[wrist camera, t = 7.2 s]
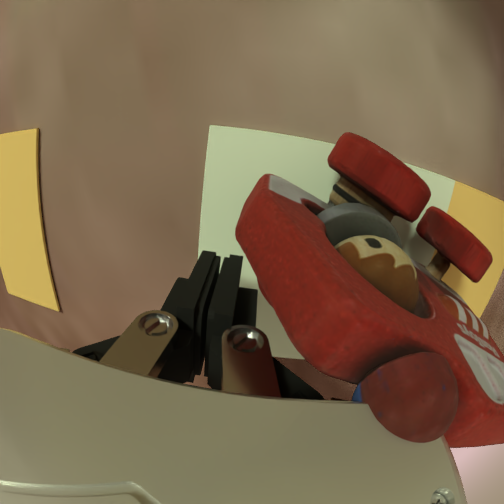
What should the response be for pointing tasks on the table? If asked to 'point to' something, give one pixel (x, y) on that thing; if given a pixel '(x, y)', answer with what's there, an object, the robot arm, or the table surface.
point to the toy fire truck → (379, 295)
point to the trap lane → (229, 209)
